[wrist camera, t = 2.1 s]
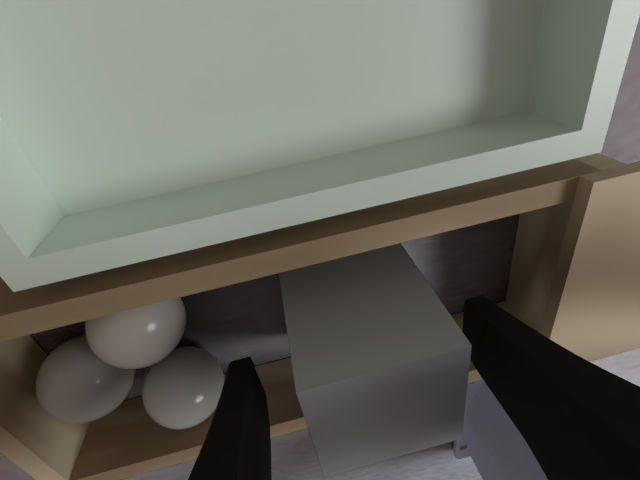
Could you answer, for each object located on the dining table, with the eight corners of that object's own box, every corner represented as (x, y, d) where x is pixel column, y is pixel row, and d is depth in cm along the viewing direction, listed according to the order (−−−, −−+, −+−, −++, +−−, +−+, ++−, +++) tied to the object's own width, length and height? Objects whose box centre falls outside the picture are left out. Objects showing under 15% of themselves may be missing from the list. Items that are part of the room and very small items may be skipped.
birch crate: (574, 293, 18) (639, 347, 15) (86, 423, 16) (52, 512, 13) (628, 117, 13) (739, 147, 10) (-54, 276, 12) (-154, 365, 9)
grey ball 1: (155, 359, 15) (139, 427, 13) (83, 378, 15) (51, 451, 12) (122, 307, 13) (96, 375, 11) (40, 328, 13) (-6, 401, 11)
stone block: (393, 308, 16) (461, 438, 11) (298, 332, 16) (324, 478, 11) (387, 225, 14) (472, 345, 9) (275, 252, 14) (295, 393, 8)
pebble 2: (201, 311, 14) (193, 374, 12) (125, 330, 14) (100, 399, 12) (172, 250, 13) (156, 309, 10) (85, 271, 12) (46, 335, 10)
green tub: (529, 124, 13) (601, 152, 10) (62, 231, 12) (13, 292, 9) (593, -275, 8) (759, -412, 5) (-195, -157, 7) (-454, -259, 4)
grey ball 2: (234, 368, 16) (233, 433, 14) (167, 386, 16) (154, 454, 14) (212, 322, 15) (207, 385, 12) (138, 341, 14) (117, 409, 12)
